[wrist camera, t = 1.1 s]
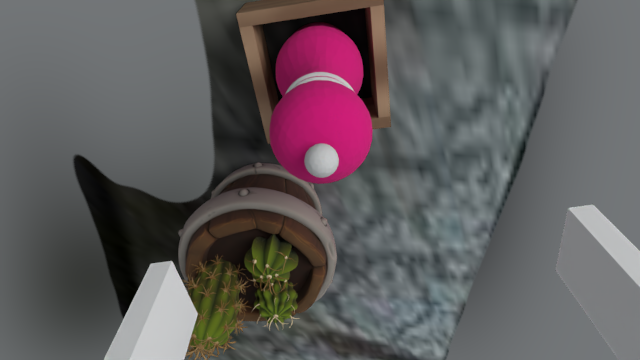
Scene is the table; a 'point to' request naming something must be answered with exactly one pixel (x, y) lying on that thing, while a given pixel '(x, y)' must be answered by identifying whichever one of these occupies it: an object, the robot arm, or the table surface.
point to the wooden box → (294, 3)
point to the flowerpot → (254, 253)
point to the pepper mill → (320, 105)
